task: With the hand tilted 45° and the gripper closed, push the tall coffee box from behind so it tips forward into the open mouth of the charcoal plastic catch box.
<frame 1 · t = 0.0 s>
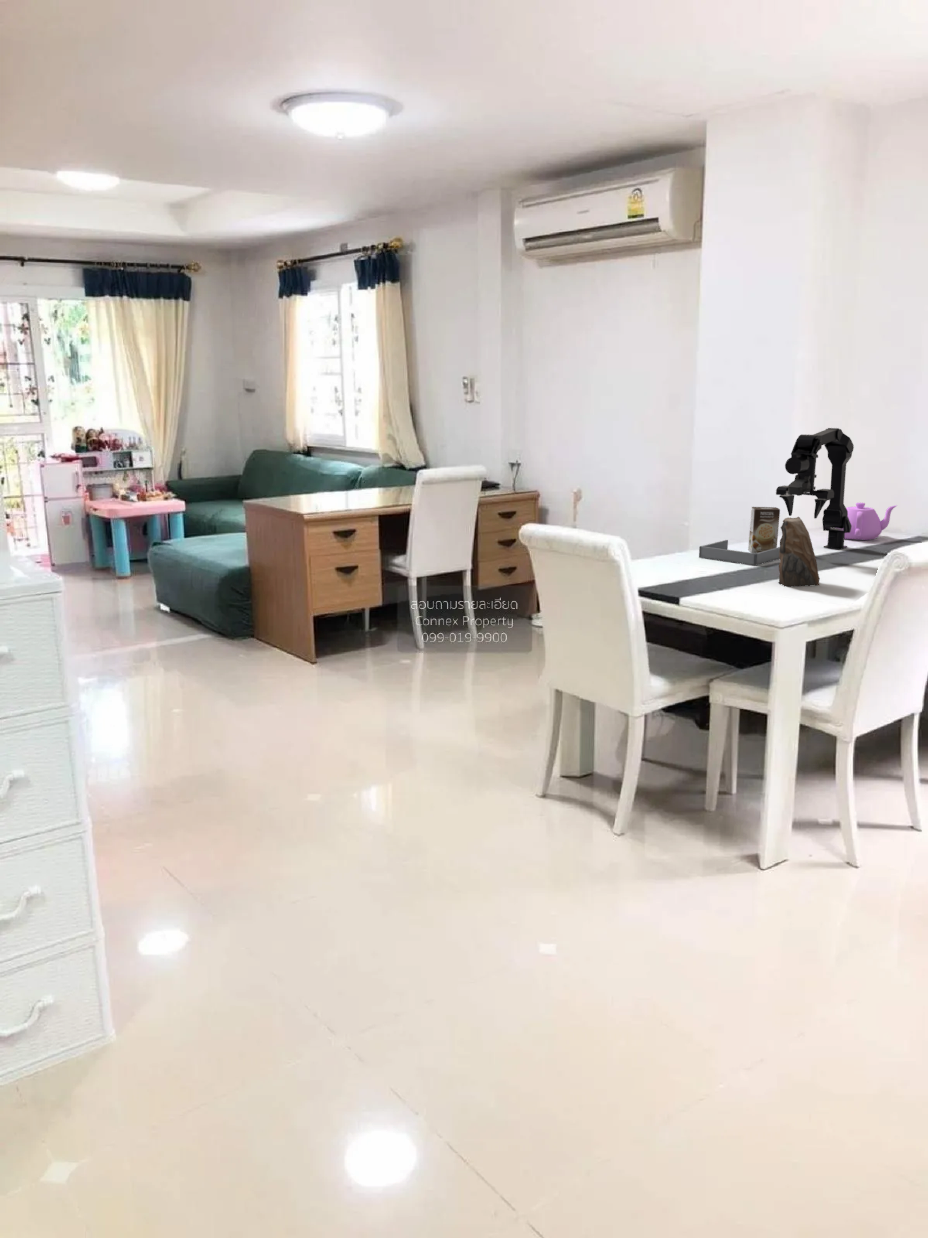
hand: (802, 517, 339), 15 cm above the table, tool pointing down, fingers open, 9 cm apart
catch box: (739, 557, 345), on the table
coffee box: (762, 552, 356), on the table
teapot: (863, 538, 381), on the table
brown rock: (797, 583, 305), on the table
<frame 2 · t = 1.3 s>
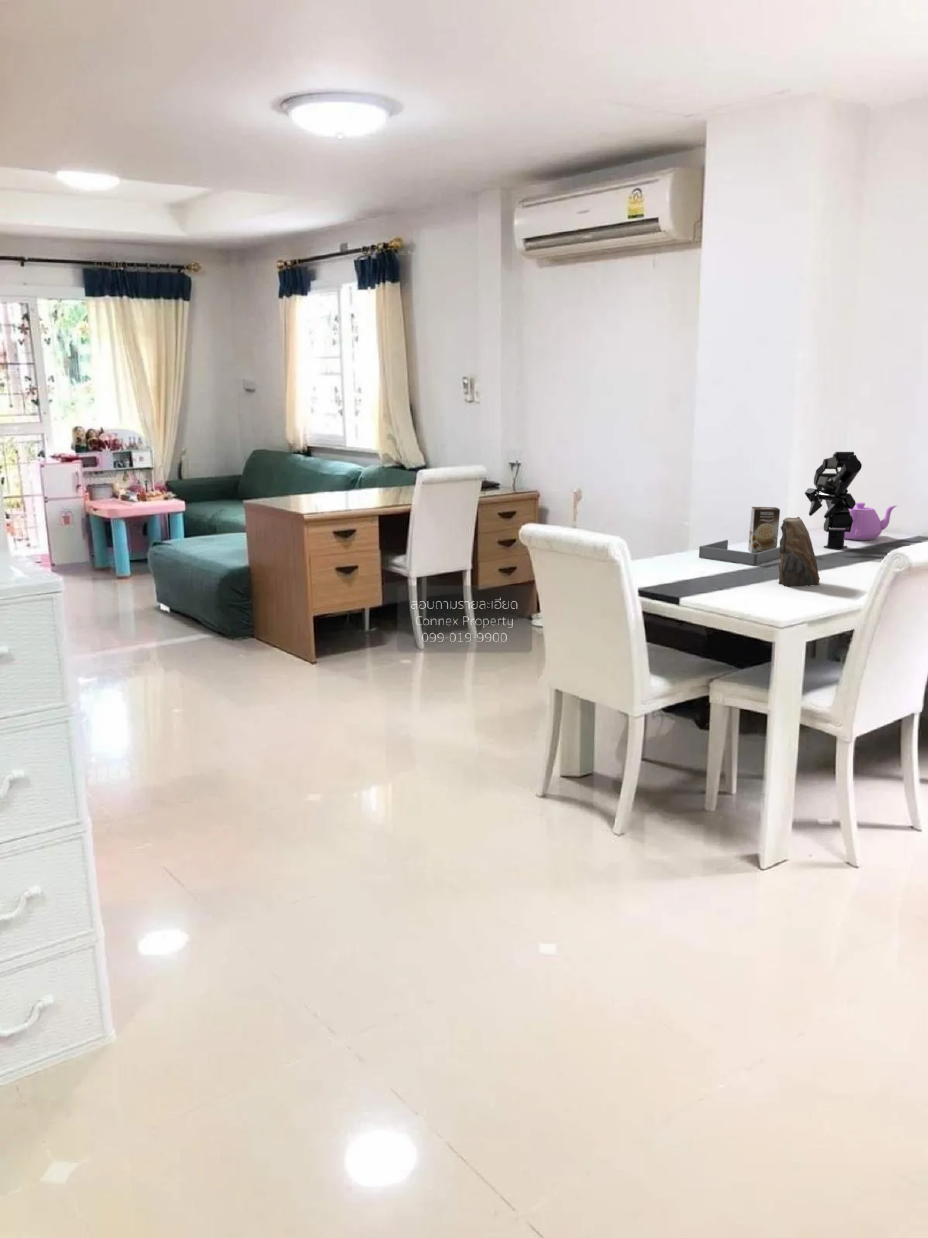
hand: (817, 516, 348), 14 cm above the table, tool tilted 45°, fingers open, 6 cm apart
nothing on the table moved.
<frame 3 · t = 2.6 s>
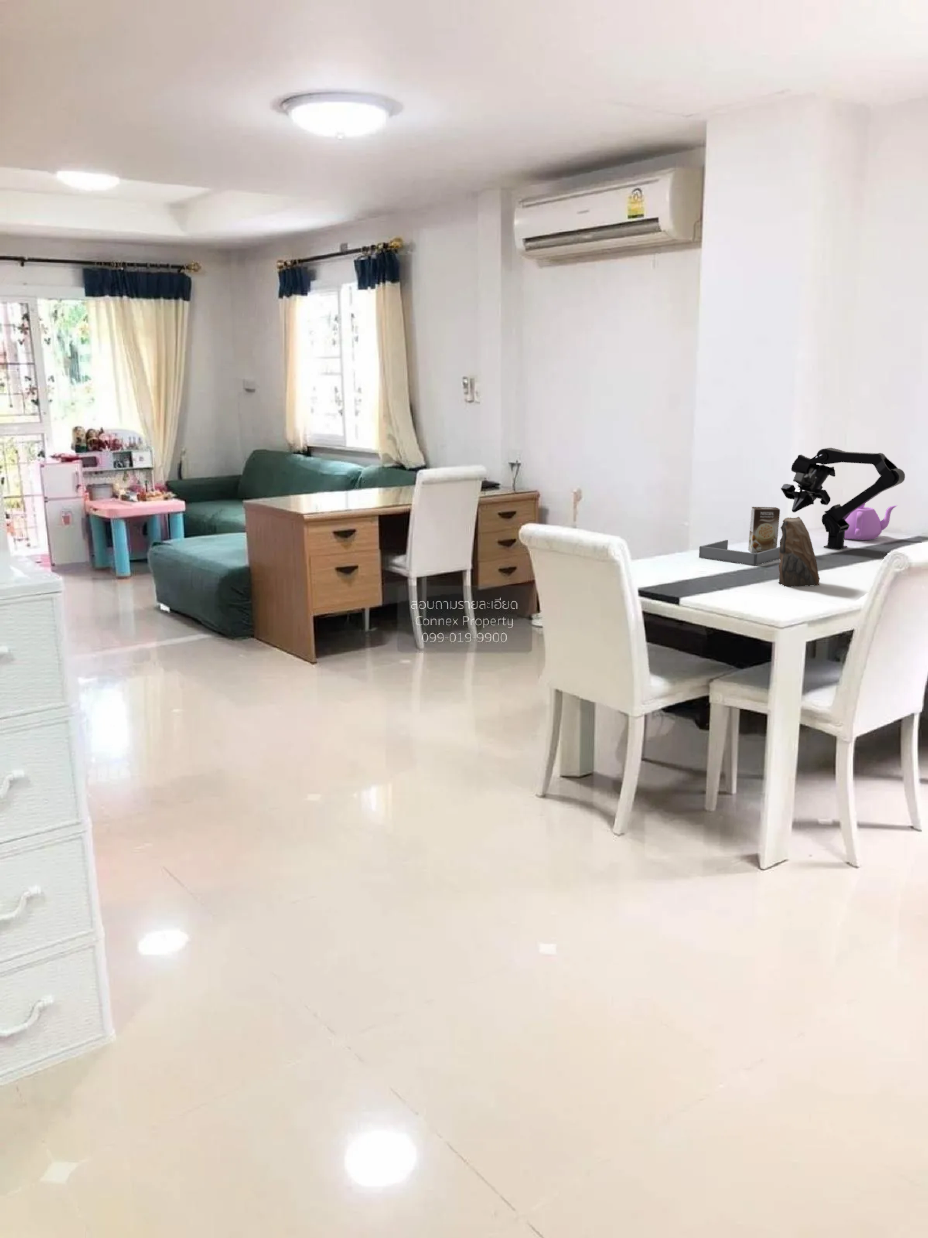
hand: (793, 511, 357), 14 cm above the table, tool tilted 45°, fingers closed
nothing on the table moved.
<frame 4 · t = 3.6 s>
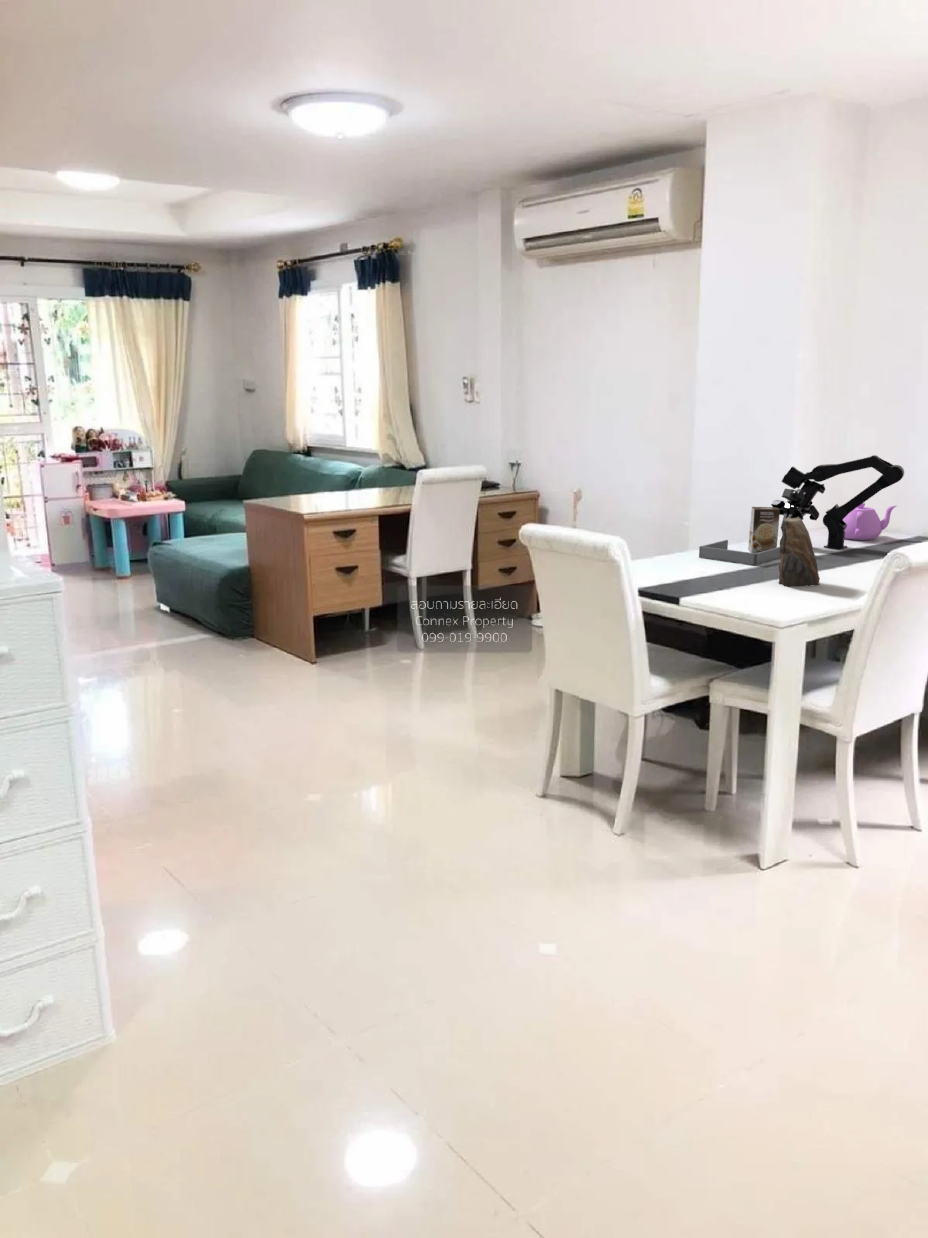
hand: (782, 527, 359), 8 cm above the table, tool tilted 45°, fingers closed
nothing on the table moved.
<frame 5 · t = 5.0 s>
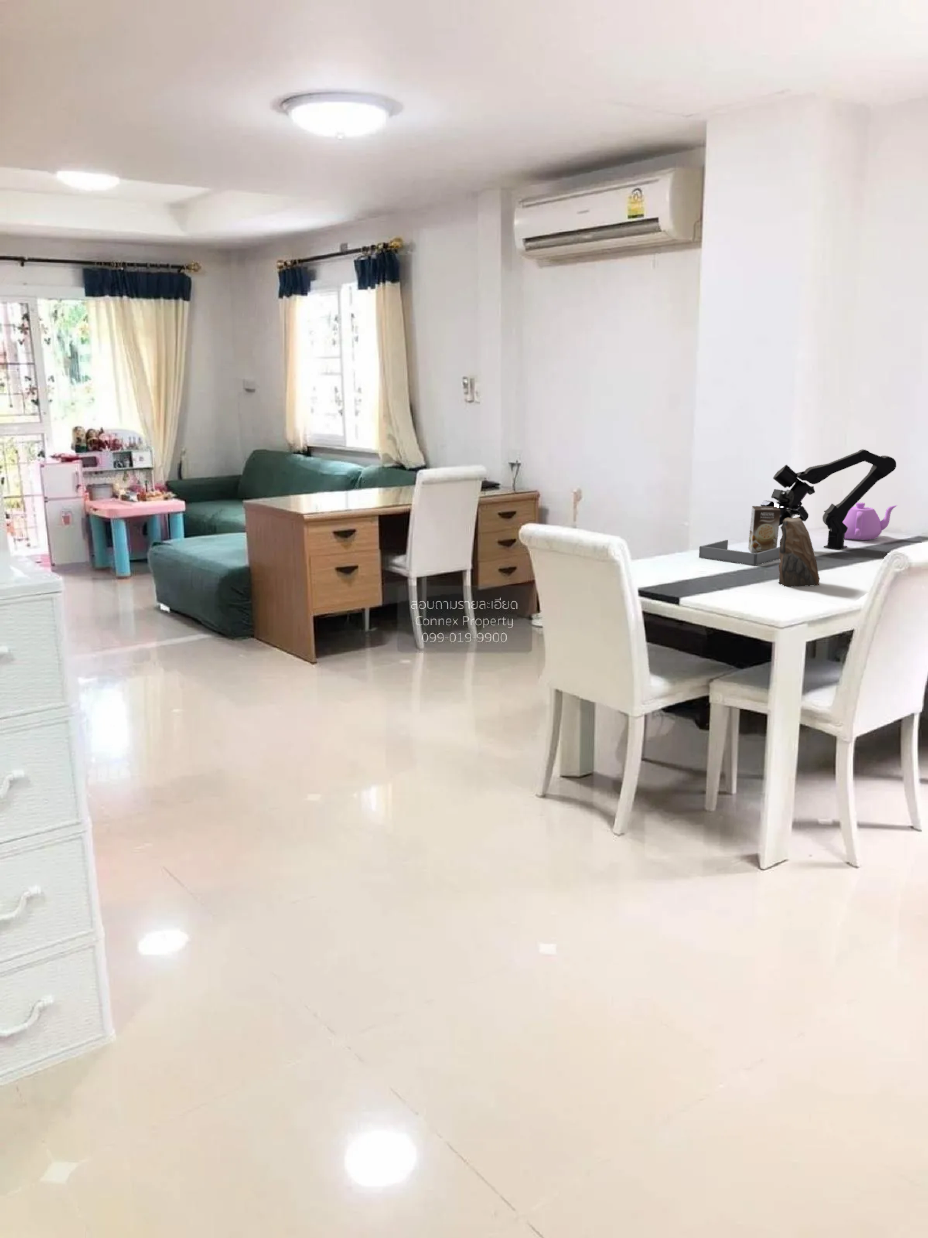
hand: (771, 528, 356), 8 cm above the table, tool tilted 45°, fingers closed
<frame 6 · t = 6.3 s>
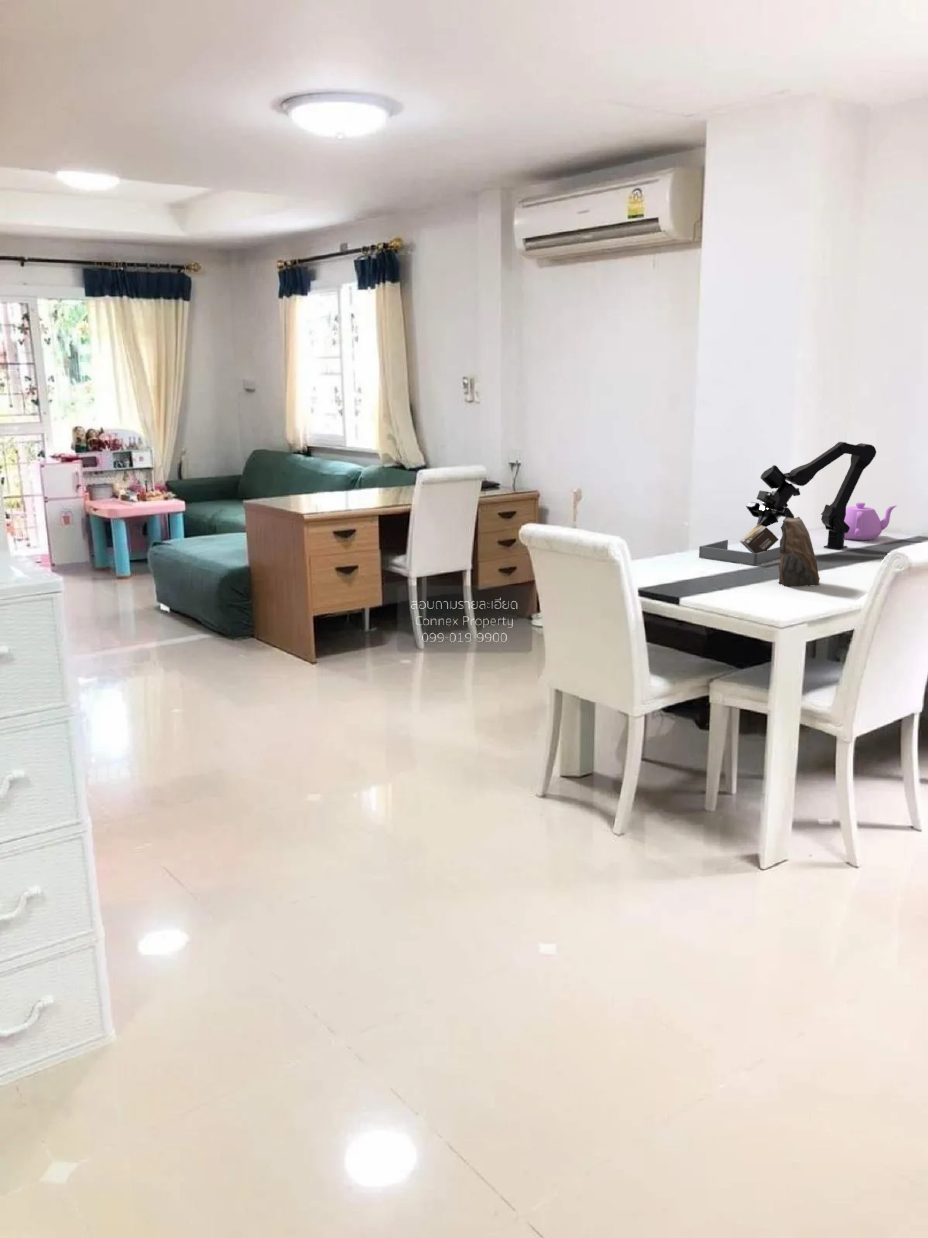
hand: (756, 529, 352), 8 cm above the table, tool tilted 45°, fingers closed
coffee box: (754, 538, 353), point 5 cm above the table, touching catch box, gripper
everything else where it was.
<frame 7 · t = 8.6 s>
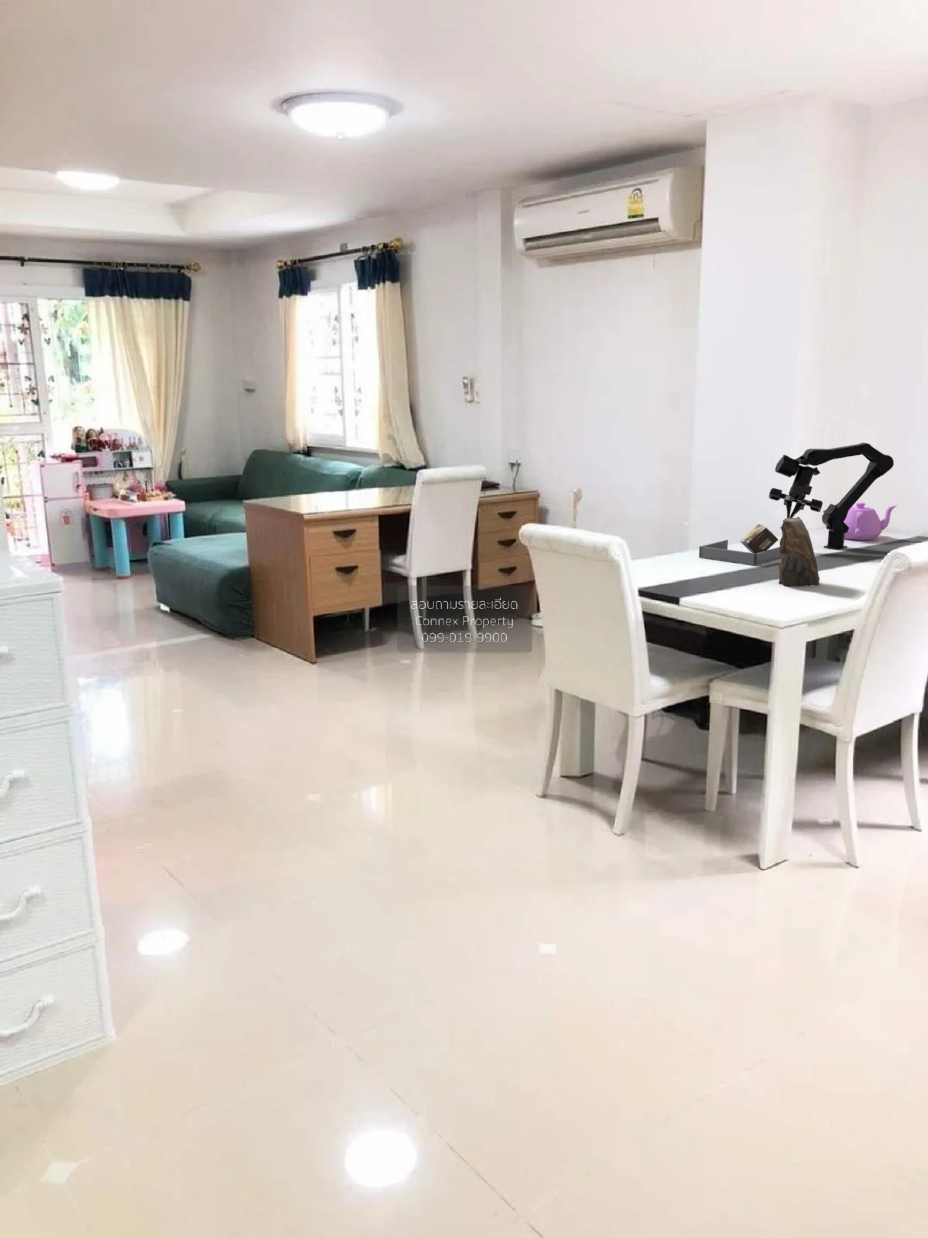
hand: (787, 521, 354), 11 cm above the table, tool tilted 30°, fingers closed
coffee box: (755, 538, 353), point 5 cm above the table, touching catch box
everything else where it was.
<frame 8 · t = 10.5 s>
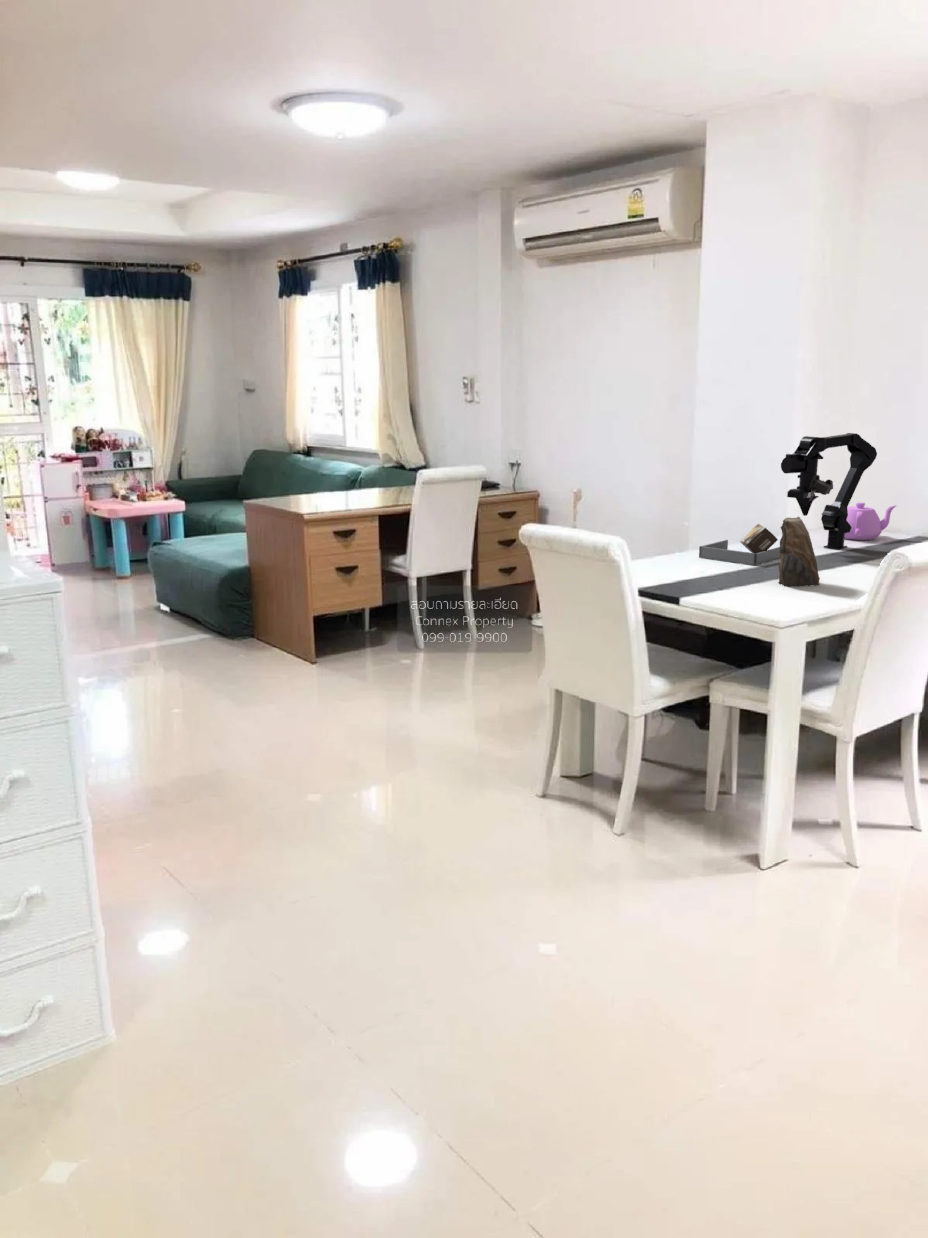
hand: (805, 515, 353), 13 cm above the table, tool pointing down, fingers closed
nothing on the table moved.
at the end: coffee box tilted 88°; coffee box touching catch box; coffee box moved 7.2 cm from its start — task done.
